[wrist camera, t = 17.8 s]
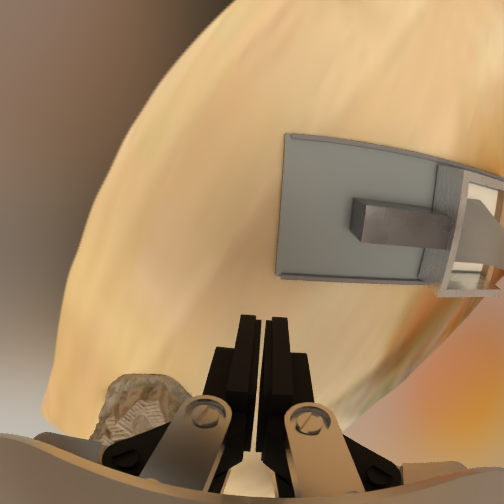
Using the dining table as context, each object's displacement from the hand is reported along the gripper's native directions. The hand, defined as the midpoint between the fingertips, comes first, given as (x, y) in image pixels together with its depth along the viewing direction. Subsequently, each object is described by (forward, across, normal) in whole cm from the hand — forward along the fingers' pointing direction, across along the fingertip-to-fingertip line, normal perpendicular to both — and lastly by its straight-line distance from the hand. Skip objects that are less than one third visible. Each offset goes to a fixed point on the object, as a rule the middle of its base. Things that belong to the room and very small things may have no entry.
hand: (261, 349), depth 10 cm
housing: (+16, -16, -3) cm, 23 cm away
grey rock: (+19, +14, +28) cm, 37 cm away
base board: (+18, -14, -3) cm, 23 cm away
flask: (+17, -21, -3) cm, 27 cm away
